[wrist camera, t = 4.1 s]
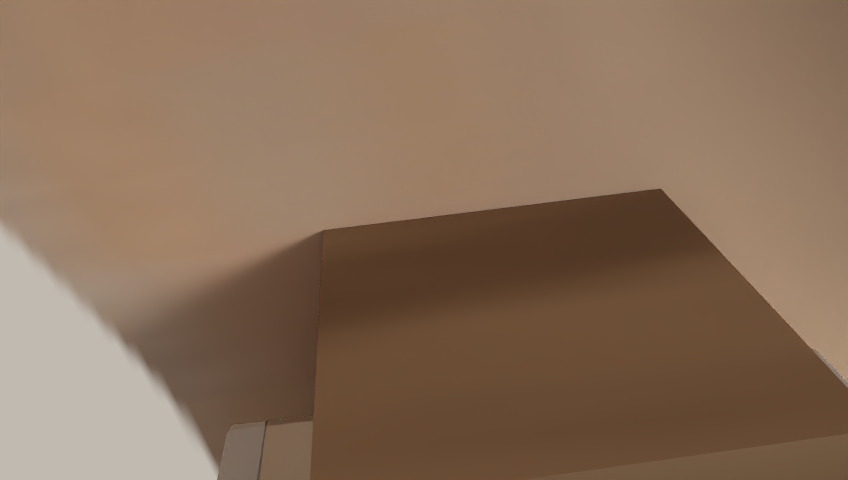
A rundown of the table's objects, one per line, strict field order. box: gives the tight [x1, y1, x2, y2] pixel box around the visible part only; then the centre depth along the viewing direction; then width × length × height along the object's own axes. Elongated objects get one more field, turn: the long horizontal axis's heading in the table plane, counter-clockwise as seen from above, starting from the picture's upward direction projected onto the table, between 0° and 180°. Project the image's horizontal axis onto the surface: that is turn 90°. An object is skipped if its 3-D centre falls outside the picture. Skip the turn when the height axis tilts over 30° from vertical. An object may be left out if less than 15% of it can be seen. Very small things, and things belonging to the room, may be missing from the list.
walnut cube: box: [310, 189, 848, 480], centre depth 9 cm, size 5×5×5 cm
